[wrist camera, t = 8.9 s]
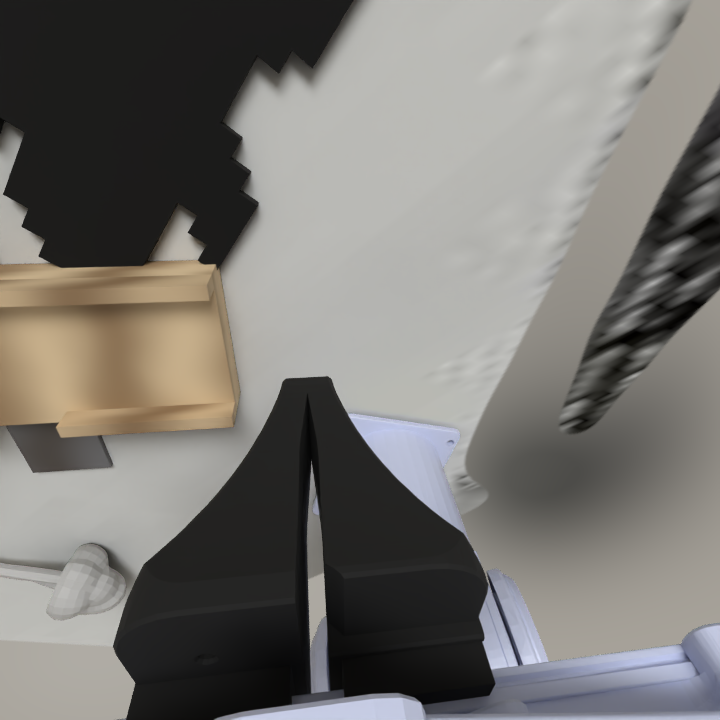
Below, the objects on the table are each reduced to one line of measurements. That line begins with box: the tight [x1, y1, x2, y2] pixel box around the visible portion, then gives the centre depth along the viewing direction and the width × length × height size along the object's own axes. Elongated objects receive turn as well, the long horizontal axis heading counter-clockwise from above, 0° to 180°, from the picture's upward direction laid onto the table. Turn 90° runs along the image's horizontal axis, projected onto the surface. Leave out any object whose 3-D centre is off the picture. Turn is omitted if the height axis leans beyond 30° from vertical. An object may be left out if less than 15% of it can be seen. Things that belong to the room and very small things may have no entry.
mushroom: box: [0, 543, 126, 621], centre depth 30 cm, size 7×5×12 cm
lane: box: [0, 260, 240, 473], centre depth 21 cm, size 22×13×4 cm, turn 89°
